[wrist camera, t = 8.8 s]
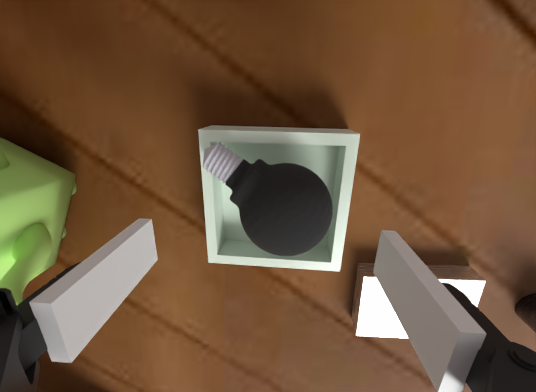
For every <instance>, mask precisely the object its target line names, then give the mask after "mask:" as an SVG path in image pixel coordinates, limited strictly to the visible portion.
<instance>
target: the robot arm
mask: <svg viewBox="0 0 536 392" xmlns="http://www.w3.org/2000/svg"><path fill="white" fill-rule="evenodd" d="M157 260H158V258H157V251H156V245H155V238H154V231H153V225H152V219H138V220H136V221H135V222H134V223H132V224H131V225H130V226H128V227H127V228H126V229H125V230H123V231H122V232H121V233H119V234H118V235H117V236H115V237H114V238H113V239H111V240H110V241H109V242H107V243H106V244H105V245H104V246H102V247H101V248H100V249H98V250H97V251H96V252H94V253H93V254H92V255H90V256H89V257H88V258H87V259H85V260H84V261H83V262H79V263H77V264H75V265H73V266H71V267H69V268H67V269H65V270H64V271H63V272H61V273H60V274H59V275H57V276H56V278H53V279H52V280H51V281H49V282H48V283H47V284H45V285H44V286H42V287H41V288H40V289H38V290H37V291H36V292H34V293H33V294H32V295H30V296H29V297H28V298H26V299H25V300H24V301H22V302H21V303H19V304H18V305H16V302H15V300H14V297H13V295H12V292H11V290H10V289H7V288H0V392H38V384H39V376H40V367H41V365H40V361H39V359H38V358H39V357H40V356H41V355H42V354H43V353H44V352H45V351H46V350H47V351H48V353H49V356H50V358H51V361H53V362H65V363H72V362H73V360H74V359H75V358H76V357H77V356H78V354H79V353H80V352H81V351H82V350H83V348H84V347H85V346H86V345H87V344H88V342H89V341H90V340H91V339H92V338H93V336H94V335H95V334H96V333H97V332H98V330H99V329H100V328H101V327H102V326H103V324H104V323H105V322H106V321H107V320H108V319H109V317H110V316H111V315H112V314H113V313H114V311H115V310H116V309H117V308H118V307H119V305H120V304H121V303H122V302H123V301H124V299H125V298H126V297H127V296H128V295H129V293H130V292H131V291H132V290H133V289H134V287H135V286H136V285H137V284H138V283H139V281H140V280H141V279H142V278H143V277H144V275H145V274H146V273H147V272H148V271H149V269H150V268H151V267H152V266H153V265H154V263H155V262H156V261H157ZM373 273H374V275H375V276H376V278H377V280H378V282H379V284H380V286H381V288H382V290H383V291H384V293H385V295H386V297H387V299H388V301H389V303H390V305H391V307H392V308H393V310H394V312H395V314H396V316H397V318H398V320H399V322H400V323H401V325H402V327H403V329H404V331H405V333H406V335H407V337H408V339H409V340H410V342H411V344H412V346H413V348H414V350H415V352H416V354H417V356H418V357H419V359H420V361H421V363H422V365H423V367H424V369H425V371H426V372H427V374H428V376H429V378H430V380H431V382H432V384H433V386H434V388H435V389H436V391H437V392H462V391H463V389H464V386H465V384H466V383H467V384H468V386H469V387H470V389H471V390H472V392H536V352H534V351H533V350H531V349H529V348H527V347H525V346H523V345H520V344H517V343H515V342H510V341H509V340H508V339H507V338H506V337H505V336H504V335H503V334H502V333H501V332H500V331H499V330H498V329H497V328H496V327H495V326H494V324H493V323H492V322H491V321H490V320H489V319H488V318H487V317H486V316H485V315H484V314H483V313H482V312H480V311H479V309H478V308H477V307H476V306H475V305H474V304H473V303H471V300H470V299H469V298H468V297H467V296H466V295H465V294H464V293H463V292H462V291H460V290H459V289H457V288H456V287H454V286H453V285H451V284H450V283H441V282H440V281H439V279H438V278H437V277H436V276H435V275H434V274H433V273H432V272H431V270H430V269H429V268H428V267H427V266H426V265H425V264H424V263H423V261H422V260H421V259H420V258H419V257H418V256H417V255H416V254H415V252H414V251H413V250H412V249H411V248H410V247H409V246H408V245H407V243H406V242H405V241H404V240H403V239H402V238H401V237H400V236H399V234H398V233H397V232H396V231H387V230H381V234H380V239H379V244H378V249H377V255H376V260H375V265H374V270H373Z"/></svg>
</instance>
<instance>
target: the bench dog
mask: <svg viewBox="0 0 536 392" xmlns="http://www.w3.org/2000/svg"><path fill="white" fill-rule="evenodd" d="M515 311H516V314H517V315H518V316H519V317H520V318H521V319H522V320H523V321H524V322H525V323H526V324H527V325H528V326H529V327H530V328H531V329H532V330H534V331H535V332H536V294H532V295H529V296H527V297H525V298H523V299H522V300H520V301H519V302H518V304H517V305H516V308H515Z"/></svg>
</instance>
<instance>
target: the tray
mask: <svg viewBox="0 0 536 392" xmlns="http://www.w3.org/2000/svg"><path fill="white" fill-rule="evenodd" d="M198 133H199V146H200V159H201V172H202V185H203V198H204V211H205V224H206V237H207V250H208V262H209V263H223V264H238V265H252V266H267V267H282V268H296V269H311V270H326V271H340V268H341V261H342V254H343V247H344V240H345V234H346V227H347V220H348V213H349V206H350V200H351V193H352V186H353V179H354V172H355V166H356V159H357V152H358V145H359V138H360V134H359V133H356V132H354V131H352V130H350V129H326V128H290V127H255V126H219V125H211V126H208V127H205V128H201V129H198ZM219 142H221V144H222V145H225V147H226V148H227V147H228V148H229V150H230V151H231V150H233V153H237V154H236V155H237V156H241V157H240V158H241V159H245V160H246V161H247V162H249V163H251V164H253V163H255V161H256V160H258V159H261V160H263V161H264V162H266V163H267V164H269V165H274V164H279V163H294V164H297V165H301V166H304V167H306V168H308V169H310V170H311V171H313V172H314V173H315V174H317V175H318V176H319V177H320V178H321V179H322V181H323V182H324V183H325V185H326V186H327V188H328V191H329V193H330V195H331V199H332V206H333V214H332V220H331V224H330V227H329V229H328V231H327V233H326V235H325V236H324V238H323V239H322V240H321V241H320V242H319V243H318V244H317V245H316V246H315V247H313V248H312V249H310V250H309V251H307V252H304V253H302V254H299V255H294V256H278V255H273V254H271V253H268V252H266V251H264V250H262V249H260V248H259V247H258V246H256V245H255V244H254V243H253V242H252V241H251V240H250V238H249V237H248V236H247V234H246V233H245V231H244V229H243V226H242V224H241V220H240V214H239V208H238V207H237V205H235V204H234V203H233V202H231V201H230V196H231V194H232V190H231V189H230V188H229V187H228V186H226V185H225V184H226V183H223V181H222V180H221V181H219V178H215V175H211V172H207V169H203V159H204V150H205V149H206V148H208V147H210V146H212V145H215V144H217V143H219Z"/></svg>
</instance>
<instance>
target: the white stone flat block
mask: <svg viewBox="0 0 536 392" xmlns="http://www.w3.org/2000/svg"><path fill="white" fill-rule="evenodd" d="M374 265H375V263H358V267H357V275H356V284H355V292H354V301H353V309H352V318H351V319H352V322H353V326H354V330H355V333H356V336H372V337H392V338H408V337H407V335H406V333H405V331H404V329H403V327H402V325H401V323H400V322H399V320H398V318H397V316H396V314H395V312H394V310H393V308H392V307H391V305H390V303H389V301H388V299H387V297H386V295H385V293H384V291H383V290H382V288H381V286H380V284H379V282H378V280H377V278H376V276H375V275H374V273H373V270H374ZM425 265H426V264H425ZM426 266H427V267H428V268H429V269H430V270H431V272H432V273H433V274H434V275H435V276H436V277H437V278H438V279H439V281H440V282H441V283H450V284H451V285H453V286H454V287H456V288H457V289H459V290H460V291H462V292H463V293H464V294H465V295H466V296H467V297H468V298H469V299H470V300H471V303H473V304H474V305H475V306H476V307H477V305H478V302H479V299H480V297H481V294H482V291H483V288H484V285H485V282H486V280H485V279H484V278H482V277H481V276H480V275H479V274H478V273H477V272H476V271H475V270H474V269H473V268H472V267H470V266H463V265H426Z"/></svg>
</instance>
